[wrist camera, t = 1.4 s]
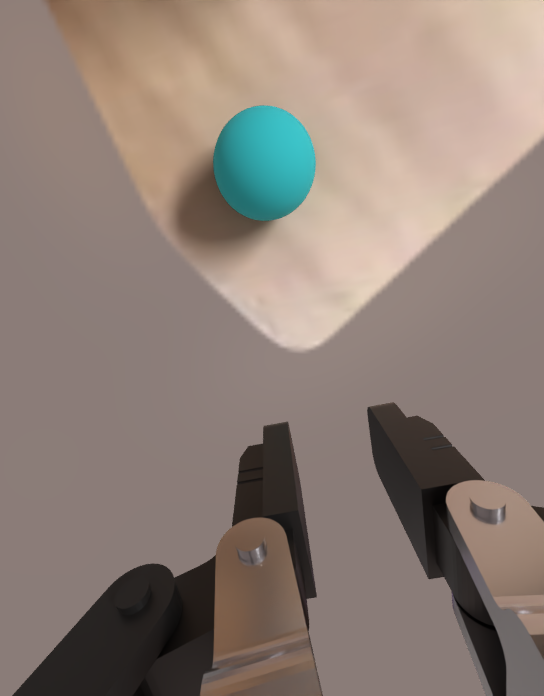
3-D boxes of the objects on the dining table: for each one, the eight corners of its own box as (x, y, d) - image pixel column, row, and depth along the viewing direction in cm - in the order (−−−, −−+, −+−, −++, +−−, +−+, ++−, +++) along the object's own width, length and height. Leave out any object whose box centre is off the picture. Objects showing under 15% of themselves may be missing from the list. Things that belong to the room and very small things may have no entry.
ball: (209, 205, 24) (191, 194, 18) (235, 110, 23) (224, 66, 17) (291, 235, 25) (299, 233, 19) (322, 144, 23) (341, 113, 17)
